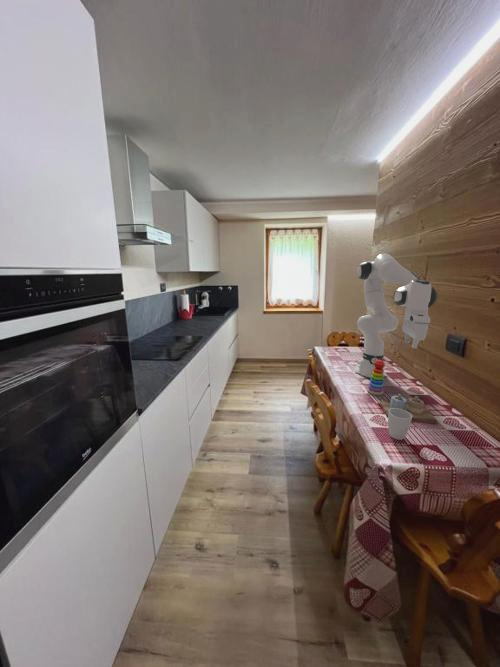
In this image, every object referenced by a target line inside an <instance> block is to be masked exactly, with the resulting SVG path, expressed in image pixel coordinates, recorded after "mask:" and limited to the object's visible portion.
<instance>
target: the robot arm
mask: <svg viewBox="0 0 500 667" xmlns="http://www.w3.org/2000/svg"><path fill="white" fill-rule="evenodd" d="M357 277H358V278H359V279H360V280H364V283H363V293H364V302H365V303H364V304H365V307H366V308H367V309H368V310H369V311H371V312H372V314H365V315H362V316H359V317H358V320H357V322H356V326H357V328H358V330H359V331H360V332H361V333H362V335H363V337H364V350H363V353H362V357H361V358H360V360H357V364H356V366H355V370H354V373H355V374H358V375H361V376H362V377H366V378H369V379H371V375H372V372H373V369H374V368H376V367H375V366H374V362H375V361H376V360H382V361H383V362H384V351H385V341H384V340H383V339H381V338H380V337H379V336H380V335H379V333H389V332H392V331H395V330H397V328H398V326H399V321H398V320H399V319H398V318H397V317H396V316H395V315H394V314H392V312H391V311H390V310H389V308H388V306H387V303H386V299H385V293H384V287H383V282H386V283H389V284H398V285H403V286H399V287H398V288H397V289H396V290H395V291H394V294H393V301H394V303H395V305H397V306H400V307H405V309H404V317H403V322H402V326H401V331H402V332H403V333H404V339H405V340H404V343H406V344H410V343H411V338H412V339H413V342H412V343H411V348H412V349H418V345H419V343H420V341H425V340H426V339H427V338H426V337H427V334H428V330H429V324H430V323H431V317H430V316H429V308H431V307H432V306H433V305H434V304H435V303H437V300H438V298H439V297H438V293H437V290H436V289H435V288H434V287H433V286H432V283H431V282H430V281H429V280H426V279H420V278H419V277H418V276H417V275H416V274H415V273H413V272H411V271H410V270H408V269H406V268H405V267H404V266H403V265H401V264H400V263H399V262H398V261H397V260H396V259H395V258H394V257H393V256H392V255H391V254H389V253H387V252H386V253H385V252H384V253H380V254H379V255H377V256H376V257H375V259H374V260H370V261H364V262H361V263H359V265H358V266H357ZM384 364H385V365H384V367H383V368H382V369H383V370H384V371H383V378H384V377H387V373H386V372H385V370H386V369H385V367H386V363H385V362H384Z"/></svg>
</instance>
